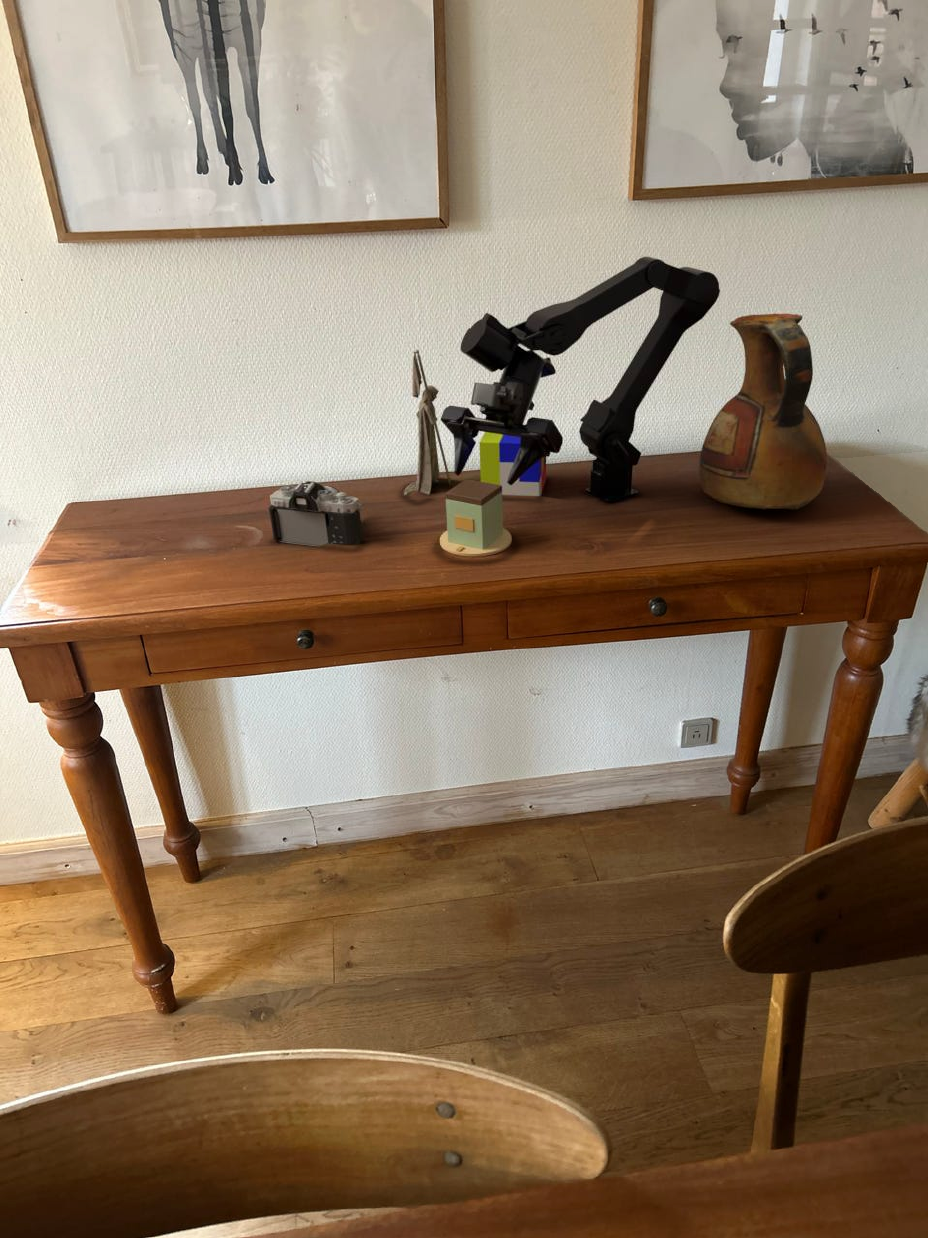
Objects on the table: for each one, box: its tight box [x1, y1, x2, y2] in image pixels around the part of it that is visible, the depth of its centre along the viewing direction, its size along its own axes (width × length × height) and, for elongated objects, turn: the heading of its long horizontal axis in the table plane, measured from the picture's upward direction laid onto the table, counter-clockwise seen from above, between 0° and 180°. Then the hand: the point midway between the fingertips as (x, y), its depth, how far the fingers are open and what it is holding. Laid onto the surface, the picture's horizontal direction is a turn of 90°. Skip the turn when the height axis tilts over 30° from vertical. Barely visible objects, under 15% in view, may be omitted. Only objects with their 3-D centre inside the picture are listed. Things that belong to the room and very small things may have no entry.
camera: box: [268, 480, 364, 548], centre depth 140 cm, size 16×9×10 cm, turn 71°
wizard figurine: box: [403, 349, 452, 496], centre depth 152 cm, size 10×8×25 cm
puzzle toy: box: [479, 432, 547, 497], centre depth 155 cm, size 10×10×10 cm
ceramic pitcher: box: [698, 313, 828, 510], centre depth 141 cm, size 20×20×30 cm
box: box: [439, 478, 513, 558], centre depth 135 cm, size 11×11×8 cm
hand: (482, 478), depth 135 cm, fingers open, 9 cm apart
